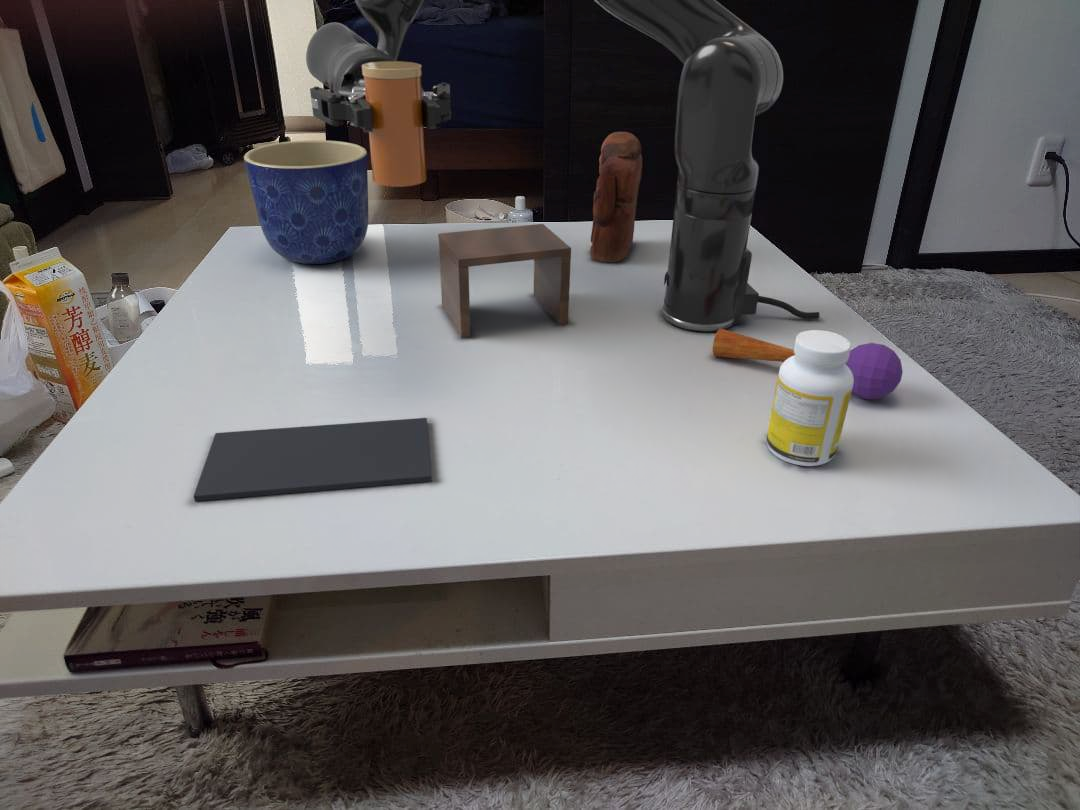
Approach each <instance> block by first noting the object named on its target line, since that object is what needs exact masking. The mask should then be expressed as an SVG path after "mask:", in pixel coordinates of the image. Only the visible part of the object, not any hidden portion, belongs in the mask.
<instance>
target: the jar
mask: <svg viewBox="0 0 1080 810" xmlns="http://www.w3.org/2000/svg"><path fill="white" fill-rule="evenodd" d="M422 69H423V68H422V64H421V63H417V62H412V61H399V60H398V61H383V62H371V63H366V64H363V65H362V75H363V76H364V86H365V97H366V101H367V102H368V104H369V105H370V107H371V114H372V126H373V132H368V140H369V150H370V163H371V174H372V181H373V183H375V184H376V185H381V186H385V187H393V188H394V187H395V188H396V187H398V188H399V187H400V188H401V187H413V186H417V185H420V184H423V183H425V182H426V181H427V164H426V162H427V160H426V144H425V142H426V141H425V128H424V127H425V126H424V124H423V105H422V88H423V87H422V76H423V70H422Z"/></svg>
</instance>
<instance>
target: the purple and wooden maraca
mask: <svg viewBox="0 0 1080 810" xmlns="http://www.w3.org/2000/svg"><path fill="white" fill-rule="evenodd" d="M712 354H713V356H714V357H719V358H732V359H743V360H753V361H754V360H755V361H765V362H766V361H767V362H780V363H783V362H784V361H785V360H787V359H788V358H790V357H791V356H794V355H795V353H794V349H792V348H788V347H785V346H781V345H779V344H776V343H772V342H768V341H764V340H761V339H758V338H755V337H751V336H749V335H745V334H741V333H739V332H738V333H737V332H734V331H731V330H728V329H719V330H718V331H716V333H715V336H714V338H713V343H712ZM845 364H846V365H847V366H848V367H849V369H850V370H851V372H852V374H853V378H854V383H853V388H852V392H851V394H853V395H854V396H855V397H857V398H861V399H866V400H875V399H876V400H877V399H882V398H885V397H887V396H888V395H889V394H891V393H893V392H894V391H895V390H896V388H897V387H898V385H899V384H900V383H901V381H902V379H903V378H902V377H903V373H904V371H903V366H902V361H901V359H900V357H899V355H898V354H897V353H896V352H895V350H894V349H892V348H890V347H889V346H887V345H885V344H881V343H875V342H868V343H862V344H858V345H856V346H855V347H854V348H851V350H850V354H849V358H848V361H847V362H846V363H845Z"/></svg>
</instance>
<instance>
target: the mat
mask: <svg viewBox="0 0 1080 810" xmlns="http://www.w3.org/2000/svg"><path fill="white" fill-rule="evenodd" d="M428 429H429V428H428V418H427V417H419V418H418V417H417V418H403V419H391V420H389V419H388V420H377V421H375V420H374V421H365V422H362V421H361V422H350V423H349V422H348V423H334V424H323V425H307V426H295V427H292V426H291V427H280V428H279V427H278V428H268V429H254V430H253V429H252V430H240V431H239V430H238V431H224V432H215V434H214V437H213V439H212V442H211V445H210V448H209V451H208V452H207V453H208V454H207V456H206V458H205V462H204V465H203V468H202V471H201V474H200V476H199V479H198V482H197V485H196V488H195V490H194V494H193V500H194V502H202V501H203V502H204V501H214V500H215V501H217V500H226V499H237V498H238V499H239V498H250V497H259V496H260V497H263V496H272V495H287V494H297V493H298V494H299V493H308V492H319V491H331V490H344V489H354V488H355V489H356V488H366V487H369V488H370V487H379V486H391V485H403V484H413V483H425V482H432V481H433V477H432V466H431V454H430V453H431V452H430V444H429V442H430V441H429V430H428Z"/></svg>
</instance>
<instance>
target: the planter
mask: <svg viewBox="0 0 1080 810" xmlns="http://www.w3.org/2000/svg"><path fill="white" fill-rule="evenodd" d="M243 160H244V165H245V168H246V172H247V177H248V180H249V185H250V189H251V193H252V197H253V200H254V205H255V209H256V213H257V217H258V221H259V226H260V228H261V231H262V233H263V236H264V238H265V240H266V241H267V243H268V245H269V246H270V247H271V249H272V250H274V252H276V253H277V254H278V255H279V256H281V257H282V258H284V259H286V260H288V261H290V262H294V263H298V264H304V265H324V264H331V263H334V262H335V263H336V262H338V261H342V260H345V259H347V258H348V257H351V256H353V254H355V253H357V251H358V250H359V249H360V248H361V246H362V245H363V243H364V241H365V239H366V237H367V232H368V228H369V217H370V216H369V183H368V182H369V181H368V180H369V179H368V176H369V175H368V152H367V150H366V148H365V147H363V146H361V145H359V144H356V143H351V142H346V141H339V140H338V141H337V140H322V139H321V140H320V139H319V140H317V139H315V140H314V139H311V140H310V139H308V140H293V141H281V142H275V143H269V144H266V145H261V146H258V147H255V148H253V149H250V150H248V151H247V152H246V153H245V154H244V155H243Z"/></svg>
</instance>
